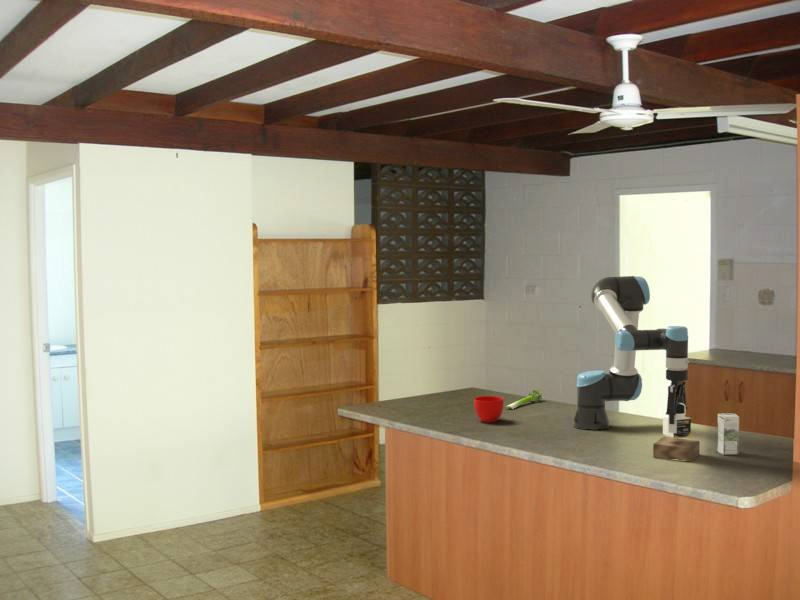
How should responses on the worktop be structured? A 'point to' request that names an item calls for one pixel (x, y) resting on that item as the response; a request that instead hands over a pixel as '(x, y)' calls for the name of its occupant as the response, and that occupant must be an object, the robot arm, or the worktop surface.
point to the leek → (525, 400)
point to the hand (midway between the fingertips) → (676, 430)
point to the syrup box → (728, 434)
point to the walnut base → (676, 448)
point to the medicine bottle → (678, 423)
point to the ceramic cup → (488, 408)
